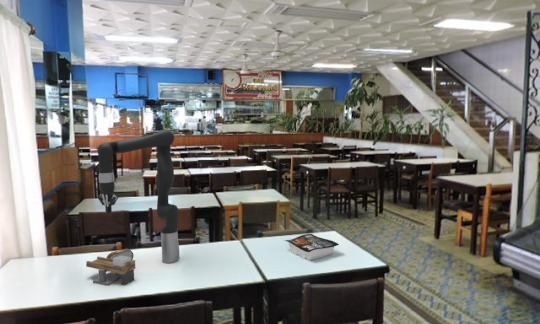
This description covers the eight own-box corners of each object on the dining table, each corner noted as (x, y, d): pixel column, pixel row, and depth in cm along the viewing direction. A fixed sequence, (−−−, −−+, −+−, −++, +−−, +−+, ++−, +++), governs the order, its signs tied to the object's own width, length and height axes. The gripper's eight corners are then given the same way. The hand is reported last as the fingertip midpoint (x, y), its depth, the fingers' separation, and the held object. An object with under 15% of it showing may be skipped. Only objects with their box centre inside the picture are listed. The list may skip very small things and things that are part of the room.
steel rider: (120, 264, 196) (120, 255, 195) (131, 266, 193) (130, 257, 192) (113, 268, 191) (112, 258, 190) (123, 270, 188) (123, 260, 188)
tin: (132, 260, 221) (131, 246, 220) (134, 262, 219) (133, 248, 218) (106, 268, 210) (105, 253, 209) (108, 269, 208) (107, 254, 207)
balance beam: (98, 262, 204) (98, 253, 204) (135, 270, 194) (134, 260, 194) (86, 268, 197) (85, 258, 196) (123, 276, 187) (123, 265, 186)
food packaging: (283, 239, 233) (311, 232, 246) (283, 251, 234) (311, 244, 247) (309, 251, 213) (339, 243, 225) (309, 263, 214) (338, 255, 226)
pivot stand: (114, 272, 205) (113, 259, 204) (140, 277, 198) (139, 264, 197) (93, 282, 192) (92, 269, 191) (119, 288, 185) (118, 274, 184)
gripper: (121, 180, 201) (123, 212, 204) (103, 179, 207) (105, 210, 209) (110, 182, 195) (112, 216, 197) (91, 181, 200) (93, 213, 202)
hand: (108, 213), depth 203 cm, fingers closed
